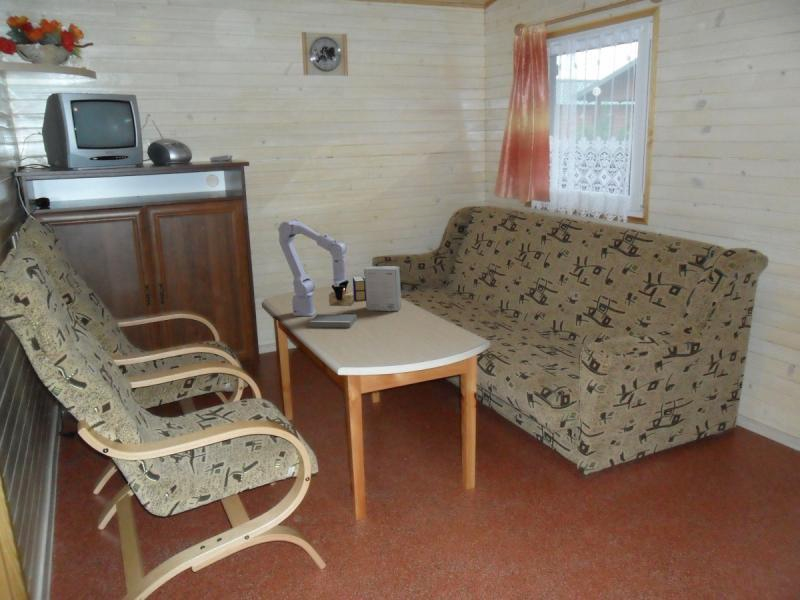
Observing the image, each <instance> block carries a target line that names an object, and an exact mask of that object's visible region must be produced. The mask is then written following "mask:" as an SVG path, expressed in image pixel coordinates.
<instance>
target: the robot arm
mask: <svg viewBox="0 0 800 600" xmlns="http://www.w3.org/2000/svg"><path fill="white" fill-rule="evenodd" d="M277 231H278V234H279V235H278V238H279V239H278V241H279V244H280V247H281V250H282V252H283V255H284V257H285V259H286V262H287V263H288V266H289V270H290V271H291V273H292V276H293V282H292V285H293V291H294V293H295V295H293V296H292V302H291V303H292V317H293V316H295V317H297V316H298V317H302V316H303V317H306V316H307V317H312V316H314V315H315V314H316V313H317V310H315V305H314V304H315V303H314V291H315V288H316V285H315V282H314V281H313V279H311V276H309V274H307V273H306V272H305V269H304V267H303V265H302V263H301V259H300V258H299V255H298V253H297V250H296V248H295V246H294V243H293V241H294V239H295V236H296V235H303V236H305V237H307V238H308V239H312V240H313V241H315V242H316V244H317V246H319V247H321V248H323V249H324V250H326V251H327V252H329V253H330V255H331V256H332V271H333V272H332V273H333V279H332V280H333V284H332V285H331V288H332V290H333V292H335V295H336V298H337V300H342V295H343V289H344V288H345V292H347V289H348V285H349V283H350V281H349V280H350V278H349V277H347V269H346V267H347V266H346V263H347V262H346V254H345V253H346V252H347V249H348V247H347V244H346V243H344V242H343V241H341V240H340V241H338V240H337V239H334V238H332V237H330V236H329V234H328V233H322V234H319V233H318V232H317V231H315V230H314V229H311V228H310V227H309V226H307V225H306V224H304V223H303V222H302V221H300V220H297V219H296V218H294V219H291V220H287V221H283V222H281V223H280V224H279V227H278V228H277Z"/></svg>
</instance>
